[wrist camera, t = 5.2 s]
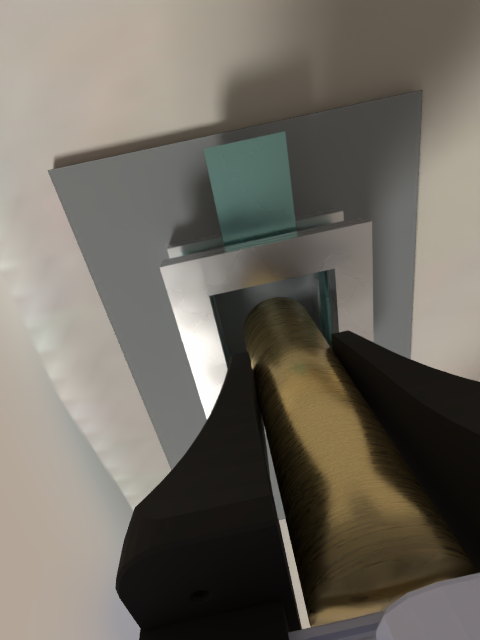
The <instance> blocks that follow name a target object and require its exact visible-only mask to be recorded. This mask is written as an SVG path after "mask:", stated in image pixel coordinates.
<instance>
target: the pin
mask: <svg viewBox="0 0 480 640" xmlns="http://www.w3.org/2000/svg"><path fill="white" fill-rule="evenodd" d="M243 336H244V340H245V345H246V349H247V352H249V356H250V360H251V364H252V369H253V374H254V379H255V383H256V388H257V395H258V401H259V405H260V410H261V414H262V418H263V423H264V427H265V431H266V436H267V440H268V444H269V449H270V453H271V457H272V462H273V466H274V471H275V475H276V479H277V484H278V488H279V492H280V497H281V501H282V505H283V510H284V514H285V518H286V523H287V527H288V531H289V536H290V540H291V544H292V549H293V553H294V557H295V562H296V566H297V570H298V575H299V579H300V583H301V588H302V592H303V597H304V601H305V605H306V610H307V614H308V618H309V623H310V626H311V627H315V626H320V625H324V624H329V623H333V622H337V621H342V620H346V619H351V618H355V617H360V616H364V615H369V614H373V613H377V612H382V611H385V610H386V608H387V607H388V606H390V605H391V604H392V603H394V602H395V601H397V600H398V599H399V598H401V597H402V596H404V595H405V594H406V593H408V592H411V591H414V590H417V589H419V588H422V587H425V586H428V585H430V584H433V583H436V582H440V581H445V580H449V579H454V578H458V577H462V576H467V575H471V574H476V573H477V570H476V569H475V567H474V566H473V564H472V563H471V561H470V560H469V558H468V557H467V555H466V553H465V552H464V550H463V549H462V547H461V546H460V544H459V543H458V541H457V540H456V538H455V537H454V535H453V534H452V532H451V531H450V529H449V527H448V526H447V524H446V523H445V521H444V520H443V518H442V517H441V515H440V514H439V512H438V511H437V509H436V508H435V506H434V505H433V503H432V502H431V500H430V498H429V497H428V495H427V494H426V492H425V491H424V489H423V488H422V486H421V485H420V483H419V482H418V480H417V479H416V477H415V476H414V474H413V473H412V471H411V469H410V468H409V466H408V465H407V463H406V462H405V460H404V459H403V457H402V456H401V454H400V453H399V451H398V450H397V448H396V447H395V445H394V444H393V442H392V440H391V439H390V437H389V436H388V434H387V433H386V431H385V430H384V428H383V427H382V425H381V424H380V422H379V421H378V419H377V418H376V416H375V414H374V413H373V411H372V410H371V408H370V407H369V405H368V404H367V402H366V401H365V399H364V398H363V396H362V395H361V393H360V392H359V390H358V389H357V387H356V385H355V384H354V382H353V381H352V379H351V378H350V376H349V375H348V373H347V372H346V370H345V369H344V367H343V366H342V364H341V363H340V361H339V360H338V358H337V356H336V355H335V353H334V352H333V350H332V349H331V347H330V346H329V344H328V343H327V341H326V340H325V338H324V337H323V335H322V334H321V332H320V331H319V329H318V327H317V326H316V324H315V323H314V321H313V320H312V318H311V317H310V315H309V314H308V312H307V311H306V309H305V308H304V307H303V306H302V305H301V304H300V303H299V302H297V301H295V300H293V299H290V298H285V297H275V298H270V299H267V300H265V301H262V302H261V303H259V304H257V305H256V306H255V307H254V308H253V309H252V310H251V311H250V312H249V313H248V315H247V317H246V319H245V321H244V325H243Z"/></svg>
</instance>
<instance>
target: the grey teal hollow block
mask: <svg viewBox="0 0 480 640" xmlns="http://www.w3.org/2000/svg"><path fill="white" fill-rule="evenodd" d="M203 150H204V155H205V159H206V164H207V169H208V173H209V178H210V182H211V187H212V192H213V196H214V201H215V206H216V210H217V215H218V220H219V224H220V229H221V233H218V234H213V235H209V236H204V237H200V238H195V239H190V240H186V241H181V242H177V243H172V244H169V246H168V248H167V251H168V254H169V258H170V259H165V260H162V263H161V265H160V271H161V274H162V277H163V280H164V283H165V287H166V290H167V293H168V296H169V299H170V303H171V306H172V309H173V312H174V315H175V319H176V322H177V325H178V328H179V331H180V335H181V338H182V341H183V344H184V347H185V351H186V354H187V357H188V360H189V363H190V367H191V370H192V373H193V376H194V379H195V383H196V386H197V389H198V392H199V395H200V399H201V402H202V405H203V408H204V411H205V415H206V418H207V419H208V417H209V415H210V413H211V411H212V409H213V407H214V405H215V403H216V400H217V398H218V396H219V393H220V391H221V388H222V385H223V383H224V380H225V377H226V373H227V370H228V365H229V359H230V358H231V356H233V355H238V354H242V353H247V349H243V350H238V351H234V352H228V348H227V344H226V340H225V336H224V332H223V328H222V324H221V320H220V316H219V312H218V308H217V303H216V299H215V294H220V293H225V292H229V291H234V290H238V289H243V288H248V287H252V286H257V285H261V284H266V283H270V282H275V281H280V280H284V279H289V278H293V277H298V276H303V275H307V274H310V277H311V287H312V297H313V307H314V317H315V324H316V326H317V327H318V329H319V331H320V332H321V334H322V335H323V337H324V338H325V340H326V341H327V343H328V344H329V346H330V347H331V349H332V350H333V348H332V335H331V334H334V333H338V332H343V331H347V330H349V331H351V332H353V333H355V334H357V335H360V336H362V337H364V338H366V339H368V340H370V341H372V342H374V331H373V253H372V221H370V220H367V219H364V218H361V217H359V218H354V219H350V220H345V221H344V215H343V211H342V210H339V209H336V208H333V209H329V210H324V211H320V212H315V213H310V214H306V215H301V216H297V217H295V213H294V204H293V196H292V187H291V178H290V169H289V161H288V152H287V143H286V134H285V131H284V132H280V133H275V134H270V135H266V136H261V137H257V138H252V139H247V140H243V141H238V142H233V143H229V144H224V145H219V146H215V147H210V148H205V149H203ZM264 429H265V427H264ZM265 434H266V431H265Z"/></svg>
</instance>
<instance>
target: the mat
mask: <svg viewBox="0 0 480 640" xmlns="http://www.w3.org/2000/svg"><path fill="white" fill-rule="evenodd" d="M421 112H422V90H419V91H415V92H410V93H405V94H401V95H396V96H392V97H387V98H382V99H378V100H373V101H368V102H364V103H359V104H354V105H350V106H345V107H340V108H336V109H331V110H326V111H322V112H317V113H312V114H308V115H303V116H298V117H294V118H289V119H284V120H280V121H275V122H270V123H266V124H261V125H257V126H252V127H247V128H243V129H238V130H233V131H229V132H224V133H219V134H215V135H210V136H205V137H201V138H196V139H191V140H187V141H182V142H177V143H173V144H168V145H163V146H159V147H154V148H149V149H145V150H140V151H136V152H131V153H126V154H122V155H117V156H112V157H108V158H103V159H98V160H94V161H89V162H84V163H80V164H75V165H70V166H66V167H61V168H56V169H52V170H48V172H49V175H50V177H51V180H52V182H53V184H54V187H55V189H56V192H57V194H58V197H59V199H60V201H61V204H62V206H63V209H64V211H65V214H66V216H67V218H68V221H69V223H70V226H71V228H72V230H73V233H74V235H75V238H76V240H77V243H78V245H79V247H80V250H81V252H82V255H83V257H84V259H85V262H86V264H87V267H88V269H89V272H90V274H91V276H92V279H93V281H94V284H95V286H96V288H97V291H98V293H99V296H100V298H101V301H102V303H103V305H104V308H105V310H106V313H107V315H108V318H109V320H110V322H111V325H112V327H113V330H114V332H115V334H116V337H117V339H118V342H119V344H120V347H121V349H122V351H123V354H124V356H125V359H126V361H127V363H128V366H129V368H130V371H131V373H132V376H133V378H134V380H135V383H136V385H137V388H138V390H139V393H140V395H141V397H142V400H143V402H144V405H145V407H146V409H147V412H148V414H149V417H150V419H151V422H152V424H153V426H154V429H155V431H156V434H157V436H158V438H159V441H160V443H161V446H162V448H163V451H164V453H165V455H166V458H167V460H168V463H169V465H170V468H171V470H172V469H173V468H174V467H175V466H176V464H177V463H178V462H179V461H180V459H181V458H182V457H183V456H184V454H185V453H186V452H187V450H188V449H189V448H190V446H191V445H192V443H193V442H194V440H195V439H196V437H197V436H198V434H199V433H200V431H201V429H202V428H203V426H204V424H205V423H206V421H207V418H206V415H205V411H204V408H203V405H202V402H201V399H200V395H199V392H198V389H197V386H196V383H195V379H194V376H193V373H192V370H191V367H190V363H189V360H188V357H187V354H186V351H185V347H184V344H183V341H182V338H181V335H180V331H179V328H178V325H177V322H176V319H175V315H174V312H173V309H172V306H171V303H170V299H169V296H168V293H167V290H166V287H165V283H164V280H163V277H162V274H161V271H160V265H161V263H162V260H165V259H170V258H169V254H168V251H167V248H168V246H169V244H172V243H177V242H181V241H186V240H190V239H195V238H200V237H204V236H209V235H213V234H218V233H221V229H220V224H219V220H218V215H217V210H216V206H215V201H214V196H213V192H212V187H211V182H210V178H209V173H208V169H207V164H206V159H205V155H204V150H203V149H205V148H210V147H215V146H219V145H224V144H229V143H233V142H238V141H243V140H247V139H252V138H257V137H261V136H266V135H270V134H275V133H280V132H284V131H285V134H286V143H287V152H288V161H289V169H290V178H291V187H292V196H293V204H294V213H295V217H297V216H301V215H306V214H310V213H315V212H320V211H324V210H329V209H333V208H336V209H339V210H342V211H343V215H344V221H345V220H350V219H354V218H359V217H361V218H364V219H367V220H370V221H372V253H373V331H374V343H376V344H378V345H380V346H382V347H384V348H386V349H388V350H390V351H392V352H395V353H397V354H399V355H401V356H404V357H406V358H408V359H410V352H411V331H412V309H413V287H414V265H415V243H416V221H417V200H418V178H419V156H420V134H421ZM275 297H285V298H290V299H293V300H295V301H297V302H299V303H300V304H301V305H302V306H303V307H304V308H305V309H306V311H307V312H308V314H309V315H310V317H311V318H312V320H313V321H314V323H315V317H314V307H313V297H312V287H311V277H310V274H307V275H303V276H298V277H293V278H289V279H284V280H280V281H275V282H270V283H266V284H261V285H257V286H252V287H248V288H243V289H238V290H234V291H229V292H225V293H220V294H215V299H216V303H217V308H218V312H219V316H220V320H221V324H222V328H223V332H224V336H225V340H226V344H227V348H228V352H234V351H238V350H243V349H246V345H245V340H244V336H243V325H244V321H245V319H246V317H247V315H248V313H249V312H250V311H251V310H252V309H253V308H254V307H255V306H256V305H257V304H259V303H261V302H262V301H265V300H267V299H270V298H275ZM265 437H266V446H267V454H268V462H269V471H270V479H271V485H272V491H273V496H274V501H275V505H276V510H277V515H278V520H282V519H286V518H285V514H284V510H283V505H282V501H281V497H280V492H279V488H278V484H277V479H276V475H275V471H274V466H273V462H272V457H271V453H270V449H269V444H268V440H267V436H266V434H265Z"/></svg>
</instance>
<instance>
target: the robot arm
mask: <svg viewBox="0 0 480 640" xmlns="http://www.w3.org/2000/svg"><path fill="white" fill-rule="evenodd" d="M331 335H332V348H333V352H334V353H335V355H336V356H337V358H338V360H339V361H340V363H341V364H342V366H343V367H344V369H345V370H346V372H347V373H348V375H349V376H350V378H351V379H352V381H353V382H354V384H355V385H356V387H357V389H358V390H359V392H360V393H361V395H362V396H363V398H364V399H365V401H366V402H367V404H368V405H369V407H370V408H371V410H372V411H373V413H374V414H375V416H376V418H377V419H378V421H379V422H380V424H381V425H382V427H383V428H384V430H385V431H386V433H387V434H388V436H389V437H390V439H391V440H392V442H393V444H394V445H395V447H396V448H397V450H398V451H399V453H400V454H401V456H402V457H403V459H404V460H405V462H406V463H407V465H408V466H409V468H410V469H411V471H412V473H413V474H414V476H415V477H416V479H417V480H418V482H419V483H420V485H421V486H422V488H423V489H424V491H425V492H426V494H427V495H428V497H429V498H430V500H431V502H432V503H433V505H434V506H435V508H436V509H437V511H438V512H439V514H440V515H441V517H442V518H443V520H444V521H445V523H446V524H447V526H448V527H449V529H450V531H451V532H452V534H453V535H454V537H455V538H456V540H457V541H458V543H459V544H460V546H461V547H462V549H463V550H464V552H465V553H466V555H467V557H468V558H469V560H470V561H471V563H472V564H473V566H474V567H475V569H476V570H477V573H476V574H471V575H467V576H462V577H458V578H454V579H449V580H445V581H440V582H436V583H433V584H430V585H428V586H425V587H422V588H419V589H417V590H414V591H411V592H408V593H406V594H405V595H404V596H402V597H401V598H399V599H398V600H397V601H395V602H394V603H392V604H391V605H390V606H388V607H387V608H386V610H385V611H382V612H377V613H373V614H369V615H364V616H360V617H355V618H351V619H346V620H342V621H337V622H333V623H329V624H324V625H320V626H315V627H311V628H306V629H302V628H301V623H300V618H299V614H298V609H297V604H296V599H295V595H294V590H293V585H292V581H291V576H290V571H289V567H288V562H287V557H286V553H285V548H284V543H283V538H282V534H281V529H280V524H279V520H278V515H277V510H276V505H275V501H274V496H273V491H272V485H271V479H270V471H269V462H268V454H267V446H266V437H265V429H264V423H263V418H262V414H261V410H260V405H259V401H258V395H257V388H256V383H255V379H254V374H253V369H252V364H251V360H250V356H249V352H247V353H242V354H238V355H233V356H231V358H230V359H229V365H228V370H227V373H226V377H225V380H224V383H223V385H222V388H221V391H220V393H219V396H218V398H217V400H216V403H215V405H214V407H213V409H212V411H211V413H210V415H209V417H208V419H207V421H206V423H205V424H204V426H203V428H202V429H201V431H200V433H199V434H198V436H197V437H196V439H195V440H194V442H193V443H192V445H191V446H190V448H189V449H188V450H187V452H186V453H185V454H184V456H183V457H182V458H181V459H180V461H179V462H178V463H177V464H176V466H175V467H174V468H173V469H172V470H171V472H170V473H169V474H168V475H167V476H166V477H165V478H164V479H163V481H162V482H161V483H160V484H159V485H158V486H157V487H156V488H155V489H154V490H153V491H152V492H151V493H150V494H149V495H148V496H147V497H146V498H145V499H144V500H143V501H141V502H140V503H139V504H138V505H137V506H136V507H135V509H134V512H133V515H132V518H131V521H130V524H129V527H128V530H127V533H126V536H125V539H124V544H123V548H122V553H121V558H120V563H119V567H118V572H117V577H116V590H117V593H118V595H119V598H120V599H121V601H122V602H123V604H124V605H125V606H126V608H127V609H128V611H129V612H130V614H131V615H132V617H133V618H134V620H135V621H136V622H137V624H138V625H139V627H140V628H141V630H140V638H139V640H480V382H478V381H474V380H470V379H466V378H463V377H459V376H456V375H453V374H449V373H446V372H443V371H440V370H437V369H434V368H431V367H429V366H426V365H423V364H421V363H418V362H416V361H413V360H411V359H408V358H406V357H404V356H401V355H399V354H397V353H395V352H392V351H390V350H388V349H386V348H384V347H382V346H380V345H378V344H376V343H374V342H372V341H370V340H368V339H366V338H364V337H362V336H360V335H357V334H355V333H353V332H351V331H349V330H347V331H343V332H338V333H334V334H331Z"/></svg>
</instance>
